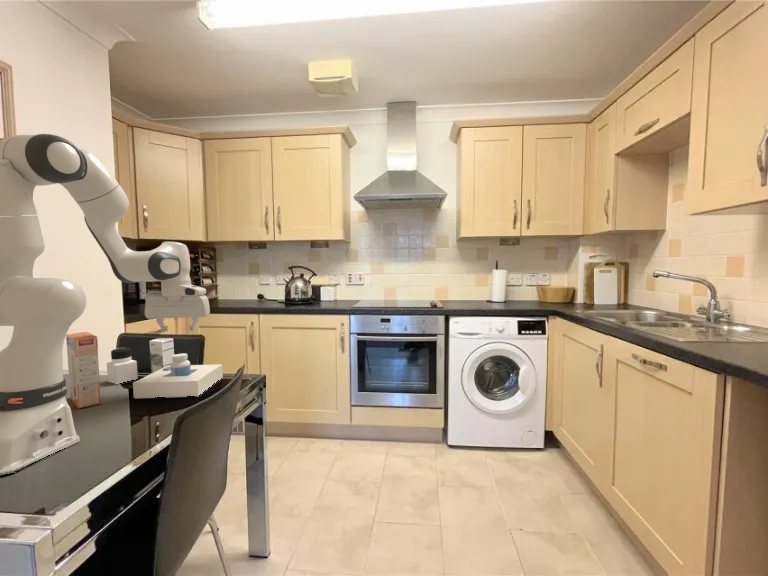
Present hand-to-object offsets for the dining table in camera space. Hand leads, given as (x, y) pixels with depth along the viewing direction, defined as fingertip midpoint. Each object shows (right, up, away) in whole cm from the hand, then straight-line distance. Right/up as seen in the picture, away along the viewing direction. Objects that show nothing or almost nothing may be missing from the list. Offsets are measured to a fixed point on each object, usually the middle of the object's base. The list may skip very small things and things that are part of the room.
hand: (178, 331), depth 128 cm
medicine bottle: (-26, -20, +10) cm, 34 cm away
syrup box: (-13, -19, +14) cm, 27 cm away
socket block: (0, -19, +1) cm, 19 cm away
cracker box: (-23, -21, -11) cm, 33 cm away
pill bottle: (0, -20, +1) cm, 20 cm away
